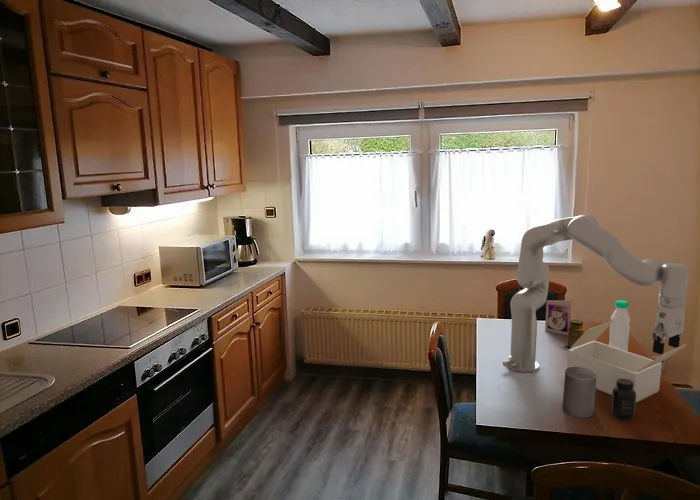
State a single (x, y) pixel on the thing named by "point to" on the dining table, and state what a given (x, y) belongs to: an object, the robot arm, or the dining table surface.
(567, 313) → the greeting card
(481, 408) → the dining table surface
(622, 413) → the supplement bottle
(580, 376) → the pillar candle
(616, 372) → the carton
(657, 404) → the dining table surface
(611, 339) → the water bottle
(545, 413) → the dining table surface
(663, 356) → the near flap
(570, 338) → the condiment
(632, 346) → the dining table surface
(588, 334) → the far flap
